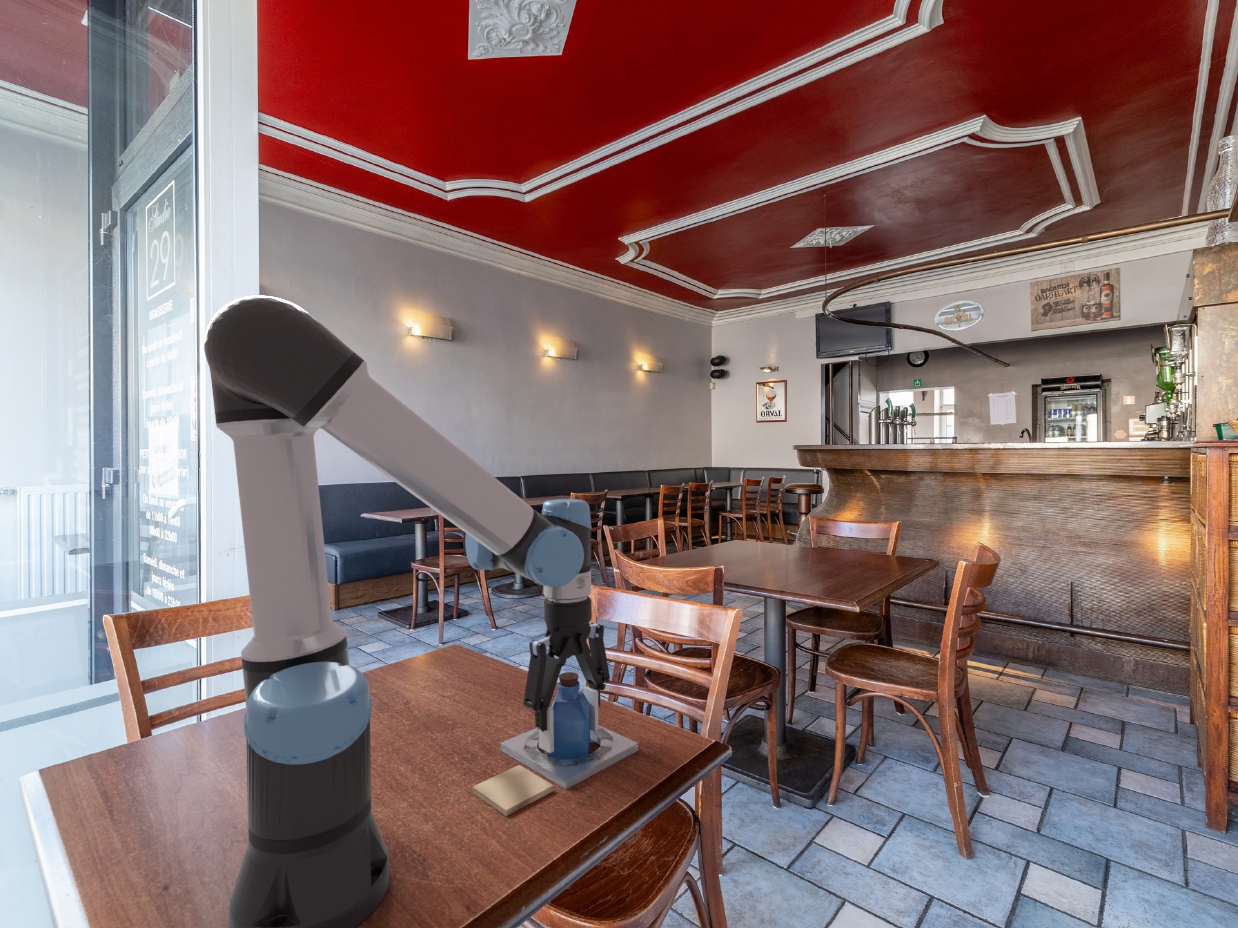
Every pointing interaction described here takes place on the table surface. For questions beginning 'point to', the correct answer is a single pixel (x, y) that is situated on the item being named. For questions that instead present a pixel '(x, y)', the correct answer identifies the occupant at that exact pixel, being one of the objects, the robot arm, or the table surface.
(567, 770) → the eye plate
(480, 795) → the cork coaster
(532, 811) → the table surface
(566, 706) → the perfume bottle
